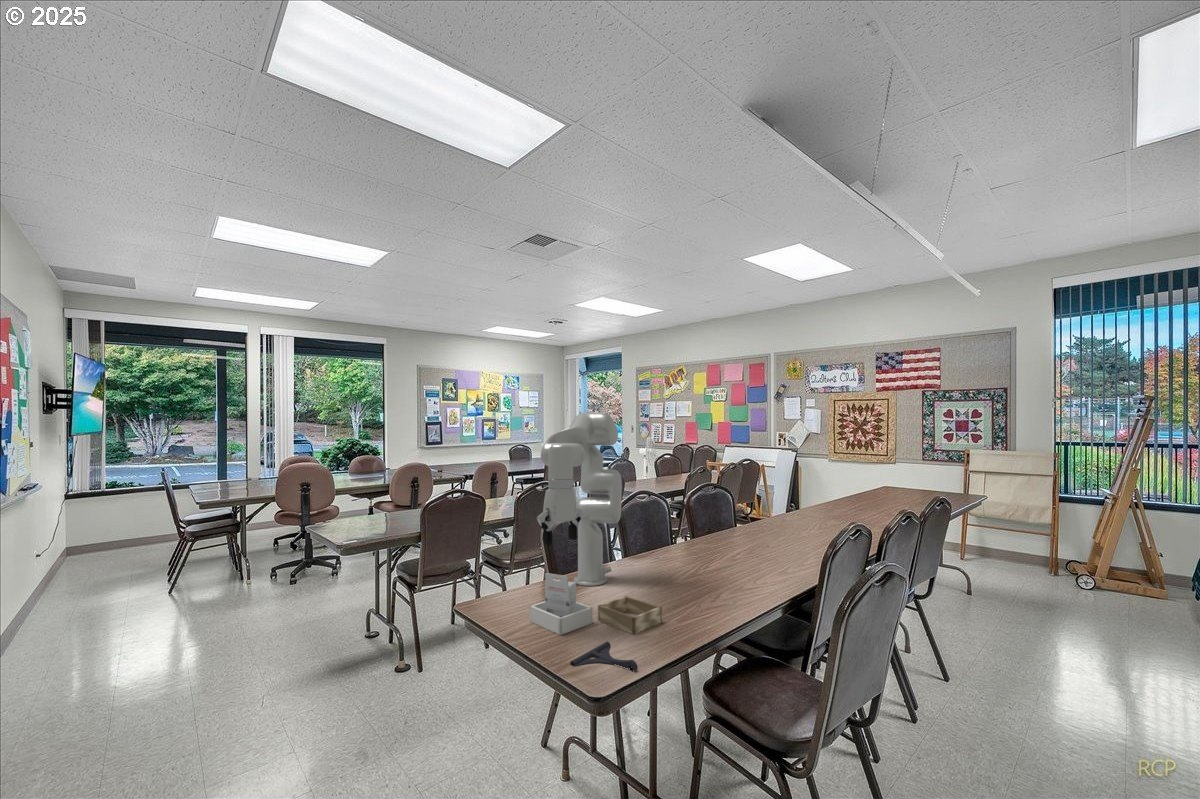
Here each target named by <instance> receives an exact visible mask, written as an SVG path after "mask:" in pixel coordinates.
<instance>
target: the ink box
mask: <svg viewBox="0 0 1200 799" xmlns="http://www.w3.org/2000/svg"><path fill="white" fill-rule="evenodd" d="M544 577H545V578H544V579H545V583H544V601H545V611H546V612H549V613H551V614H554V615H556V616H559V617H563V616H566V615H569V614H572V613H575V612H576V602H577V584H576V582H574V581H569V577H568V575H563V574H556V573H549V572H545V574H544ZM556 578H557V579H556Z"/></svg>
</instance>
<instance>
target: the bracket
mask: <svg viewBox="0 0 1200 799" xmlns="http://www.w3.org/2000/svg"><path fill="white" fill-rule="evenodd" d="M610 649H611V643H610V642H609V641H605V642H603V643H602V644H599V645H598V646H596V647H595V648H593V649H591V650H589V651H587V652H585V653H584V654H582V655H579V656H578V657H577V658H574V659H573V660H571V661H570V662H569V664H570V666H572V665H573V666H574V667H580V666H584V665H590V664H607V665H613V664H616V665H619V666H622V667H625V668H628V669H629V668H630V667H632V668H633V669H632V670H634V671H635V670H636V671H638V664H637V662H636V661H635V660H633V659H619V658H614V657H612V656H611V654H610ZM616 665H615V666H616ZM619 666H618V667H619ZM636 671H635V672H636Z"/></svg>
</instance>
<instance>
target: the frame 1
mask: <svg viewBox="0 0 1200 799" xmlns="http://www.w3.org/2000/svg"><path fill="white" fill-rule="evenodd" d="M593 609H594V608H593V606H589V605H587V604H583V603H581V602H579V601H576V612H575V613H572V614H569V615H566V616H563V617H559V616H556V615H554V614H551V613H549V612H546V611H545V600H544V601H541V602H539V603H535V604H532V605H531V604H530V605H529V615H528V616H529V618H528V619H529V620H528V621H529V622H530V623H533V624H535V625H537V626H538V627H539V626H540V627H541V628H543V629H546V630H548V631H550V632H553V633H555V634H557V635H559V636H562V635H565V634H567V633H569V632H573V631H575V630H577V629H580V628H582V627H583V628H584V627H585V626H589V625H591V624H593V623H594V622H593V621H594V620H593V615H594V614H593V612H594V610H593Z"/></svg>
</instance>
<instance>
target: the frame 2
mask: <svg viewBox="0 0 1200 799" xmlns="http://www.w3.org/2000/svg"><path fill="white" fill-rule="evenodd" d="M597 608H598V609H597V621H598V622H600V623H603V624H606V625H607V626H611V627H614V628H616V629H618V630H622V631H623V630H624V632H626V631H627V632H626V633H629V632H630V633H629V634H631V633H632V635H637V634H639V633H641V632H643V631H646V630H647V628H648V629H650V628H652V626H653V627H655V626H657V625H659V624H658V623H660V624H661V622H662V623H663V608H662V606H660V605H656V604H653V603H650V602H647V601H645V600H641V599H638V598H634V597H632V596H629V595H625V596H621V597H619V598H616V599H612V600H610V601H607V602H604V603H602V604H598V605H597ZM625 612H628V613H630V614H632V615H629V614H627V613H625ZM633 615H634V616H633ZM656 624H657V625H656ZM654 625H655V626H654ZM645 629H646V630H645ZM640 631H641V632H640ZM638 632H639V633H638ZM636 633H637V634H636Z"/></svg>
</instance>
